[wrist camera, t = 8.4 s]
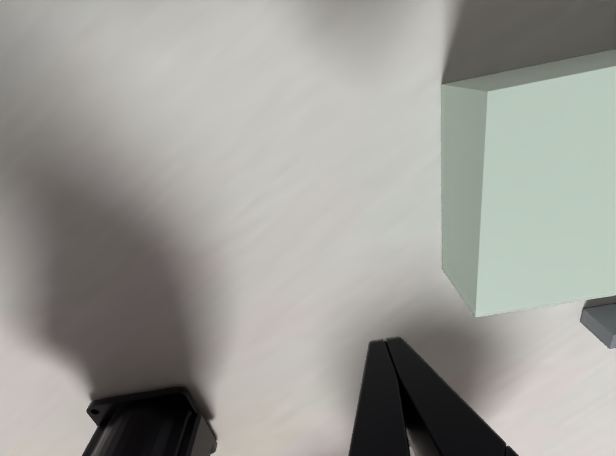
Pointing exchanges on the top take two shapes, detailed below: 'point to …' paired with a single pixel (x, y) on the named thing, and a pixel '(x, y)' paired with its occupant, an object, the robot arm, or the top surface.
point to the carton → (530, 185)
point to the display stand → (601, 323)
